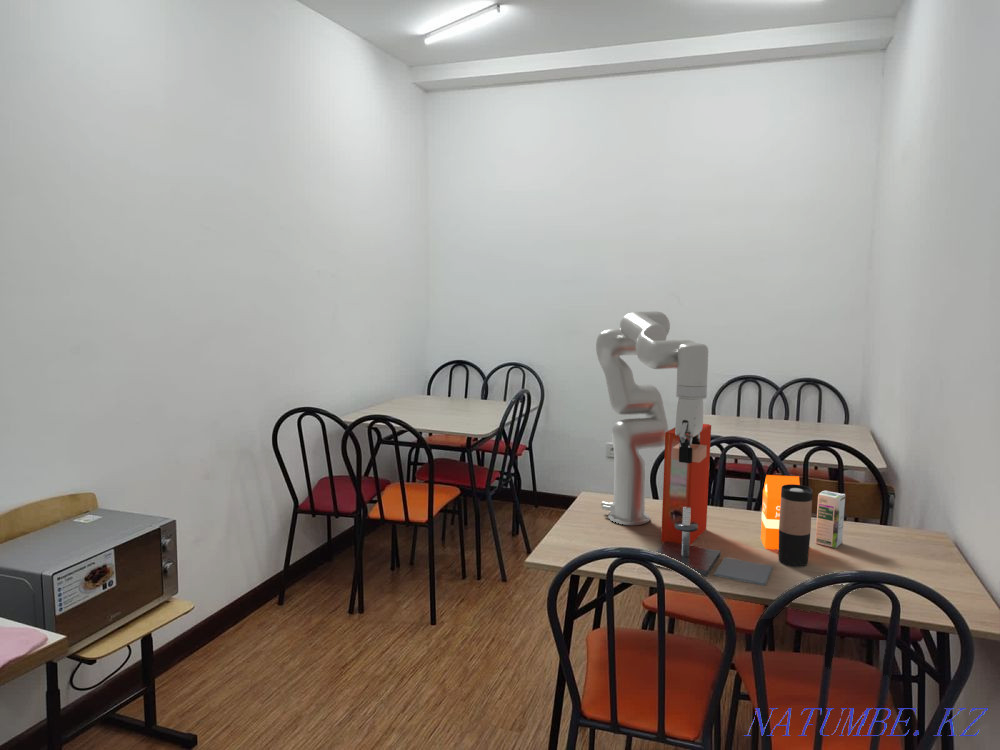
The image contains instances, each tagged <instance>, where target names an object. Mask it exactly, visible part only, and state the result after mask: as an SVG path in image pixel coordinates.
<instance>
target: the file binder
mask: <svg viewBox="0 0 1000 750" xmlns="http://www.w3.org/2000/svg"><path fill="white" fill-rule="evenodd" d="M668 430H669V431H667V432H666V433H665V446H664V455H663V456H664V460H663V487H662V507H661V508H662V511H661V513H662V515H661V535H660V536H661V537H660V541H661V543H662V544H663V543H664V542H665V541H668V542H674V543H679V544H682V531H679V530H677V529H675V527H674V526H675V522H676V521H681V520H683V507H690V508H691V517H690V521H692V522H695V523H697V524H698V530H697V531H694V532H690V546H692V544H693V543H694V542H695V541H696V540H697V539H698V538H699V537H700V536H701V535H702V534H703V533H704V532H705V531H706V530H707V521H708V520H707V519H708V502H709V501H708V499H709V478H710V460H711V459H710V457H711V455H710V454H711V438H712V437H711V435H712V424H708V423H703V427H702V431H701V432H700V441H698V442H700V445H707V451H706V457H705V458H704V459H703V460H702V461H701V462H700V463H698V462H692V463H682V462H679V460H674V459H672V449H673V447H674V446H676V445H677V444H679V443H680V441H679V440H680V437H679V436H676V434H675V427H673V428H671V429H668ZM686 435H688V434H686ZM686 439H687V438H686ZM688 440H689V439H688Z"/></svg>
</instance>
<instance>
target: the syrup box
mask: <svg viewBox="0 0 1000 750" xmlns="http://www.w3.org/2000/svg"><path fill="white" fill-rule="evenodd" d="M817 495H818V496H817V509H816V528H815V539H814V540H815V541H814V543H815V544H817V545H821V546H825V547H829V548H833V549H836V548H838V547H839V546H840V545H842V543H843V532H844V522H845V521H844V520H845V504H846V493H839V492H835V491H829V490H822V491H821V492H819V493H818V494H817Z"/></svg>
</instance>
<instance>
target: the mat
mask: <svg viewBox="0 0 1000 750" xmlns="http://www.w3.org/2000/svg"><path fill="white" fill-rule="evenodd" d="M773 566H774V565H769V564H764V563H759V562H754V561H748V560H741V559H737V558H731V557H724V558H723V559H722V561H721V563H720V564H719V565H718V567H717V569H716V570H715V572H714V573H713V574H714V575H715V577H719V576H720V578H724V577H725V579H729V578H730V580H734V579H735V580H734V581H739V580H740V582H744V581H745V582H744V583H749V582H750V583H749V584H753V585H759V586H763V587H764V586H766V584H767V581H768V579H769V577H770V575H771V572H772V570H773Z"/></svg>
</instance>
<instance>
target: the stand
mask: <svg viewBox="0 0 1000 750" xmlns="http://www.w3.org/2000/svg"><path fill="white" fill-rule="evenodd" d="M690 517H691V508H690V507H683V520H681V521H676V522H675V526H674V527H675V529H677V530H679V531H682V544H679V543H674V542H668V541H665V542H664V543H663V542H662V544H661V545H660V547H659V548H657V550H656V551H655V552H658V553H661V554H665V555H667V556H669V557H671V558H674V559H676V560H678V561H680V562H682V563H684V564H685V565H687V566H689V567H690V568H692V569H694V570H695V571H697V572H698V573H700V574H701V575H702V576H703V577H708V576H709V574H710V572H711V571H712V569H713V568H714V566H715V565H716V564H717V562H718V561H719V559H720V557H721V554H722V553H721V552H722V551H721V550H719V549H718V550H716V549H711V548H706V547H700V546H697V545H695V546H694V545H690V532H694V531H697V530H698V524H697V523H695V522H692V521H690ZM656 567H657V568H661V567H660V566H656ZM701 575H700V576H701Z"/></svg>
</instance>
